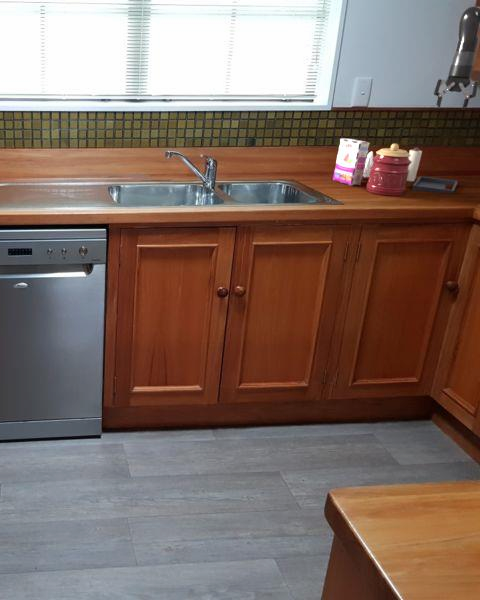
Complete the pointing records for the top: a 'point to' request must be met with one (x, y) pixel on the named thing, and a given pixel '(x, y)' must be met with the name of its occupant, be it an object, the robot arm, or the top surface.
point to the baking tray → (433, 185)
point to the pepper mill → (414, 163)
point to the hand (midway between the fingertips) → (451, 107)
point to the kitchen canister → (389, 171)
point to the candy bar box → (351, 161)
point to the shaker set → (368, 165)
